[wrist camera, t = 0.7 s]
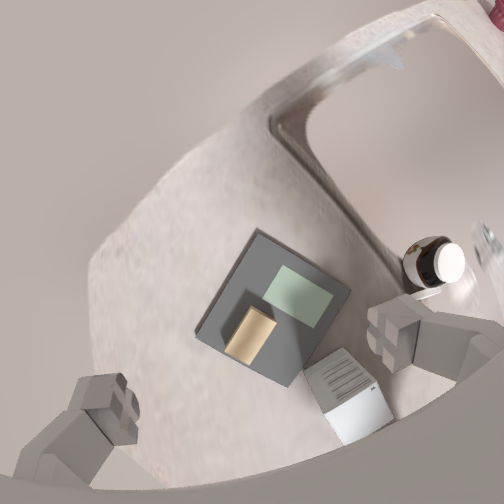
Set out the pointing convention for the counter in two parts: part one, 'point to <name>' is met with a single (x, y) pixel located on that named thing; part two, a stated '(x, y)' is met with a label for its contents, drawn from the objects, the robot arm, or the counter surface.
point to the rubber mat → (276, 308)
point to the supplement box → (348, 396)
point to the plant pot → (498, 14)
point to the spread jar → (433, 264)
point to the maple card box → (250, 335)
